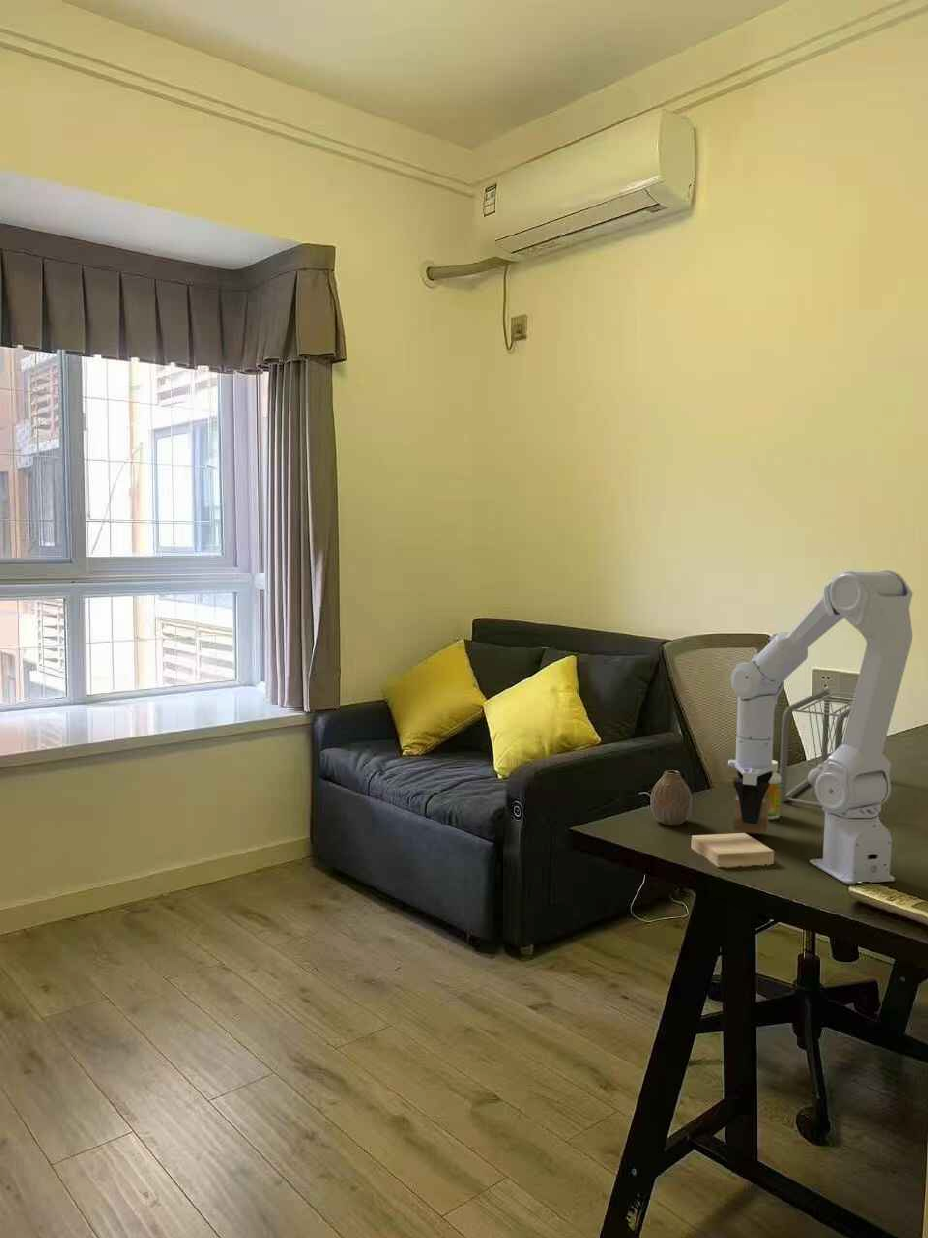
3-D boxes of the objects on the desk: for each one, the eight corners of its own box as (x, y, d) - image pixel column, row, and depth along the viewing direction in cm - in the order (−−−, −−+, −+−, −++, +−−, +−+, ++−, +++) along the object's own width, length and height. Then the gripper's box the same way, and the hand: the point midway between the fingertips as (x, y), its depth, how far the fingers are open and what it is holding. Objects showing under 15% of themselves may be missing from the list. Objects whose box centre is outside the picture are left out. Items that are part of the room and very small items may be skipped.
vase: (696, 820, 168) (698, 770, 168) (683, 831, 162) (685, 778, 162) (657, 814, 172) (659, 764, 171) (643, 824, 166) (645, 773, 165)
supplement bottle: (781, 821, 169) (784, 765, 168) (749, 819, 170) (751, 763, 169) (778, 812, 174) (780, 758, 173) (746, 810, 175) (748, 756, 174)
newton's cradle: (837, 813, 174) (842, 714, 173) (777, 803, 180) (782, 708, 178) (874, 779, 199) (879, 693, 197) (821, 772, 205) (825, 687, 203)
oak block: (773, 867, 147) (774, 851, 146) (717, 871, 145) (718, 854, 145) (744, 848, 155) (744, 832, 155) (691, 851, 154) (691, 835, 153)
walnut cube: (766, 833, 157) (767, 802, 157) (733, 829, 159) (734, 799, 158) (768, 825, 162) (769, 795, 161) (736, 821, 164) (737, 792, 163)
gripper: (733, 726, 167) (730, 804, 168) (724, 742, 154) (721, 827, 155) (777, 729, 165) (773, 809, 166) (771, 746, 151) (768, 833, 152)
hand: (751, 818), depth 160 cm, fingers closed on walnut cube, 5 cm apart
